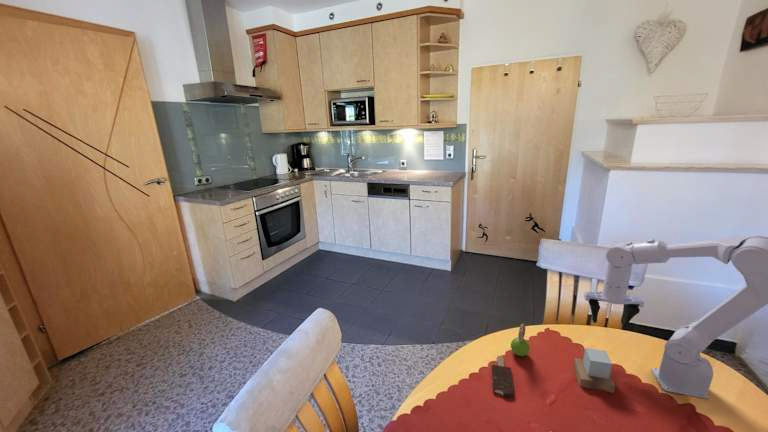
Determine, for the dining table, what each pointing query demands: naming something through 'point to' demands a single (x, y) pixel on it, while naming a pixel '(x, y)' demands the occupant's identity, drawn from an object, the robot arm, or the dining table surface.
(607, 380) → the walnut block
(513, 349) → the green candy apple
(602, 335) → the dining table surface
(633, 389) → the dining table surface
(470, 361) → the dining table surface
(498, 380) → the ice cream bar
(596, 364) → the slate-blue cube
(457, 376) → the dining table surface
